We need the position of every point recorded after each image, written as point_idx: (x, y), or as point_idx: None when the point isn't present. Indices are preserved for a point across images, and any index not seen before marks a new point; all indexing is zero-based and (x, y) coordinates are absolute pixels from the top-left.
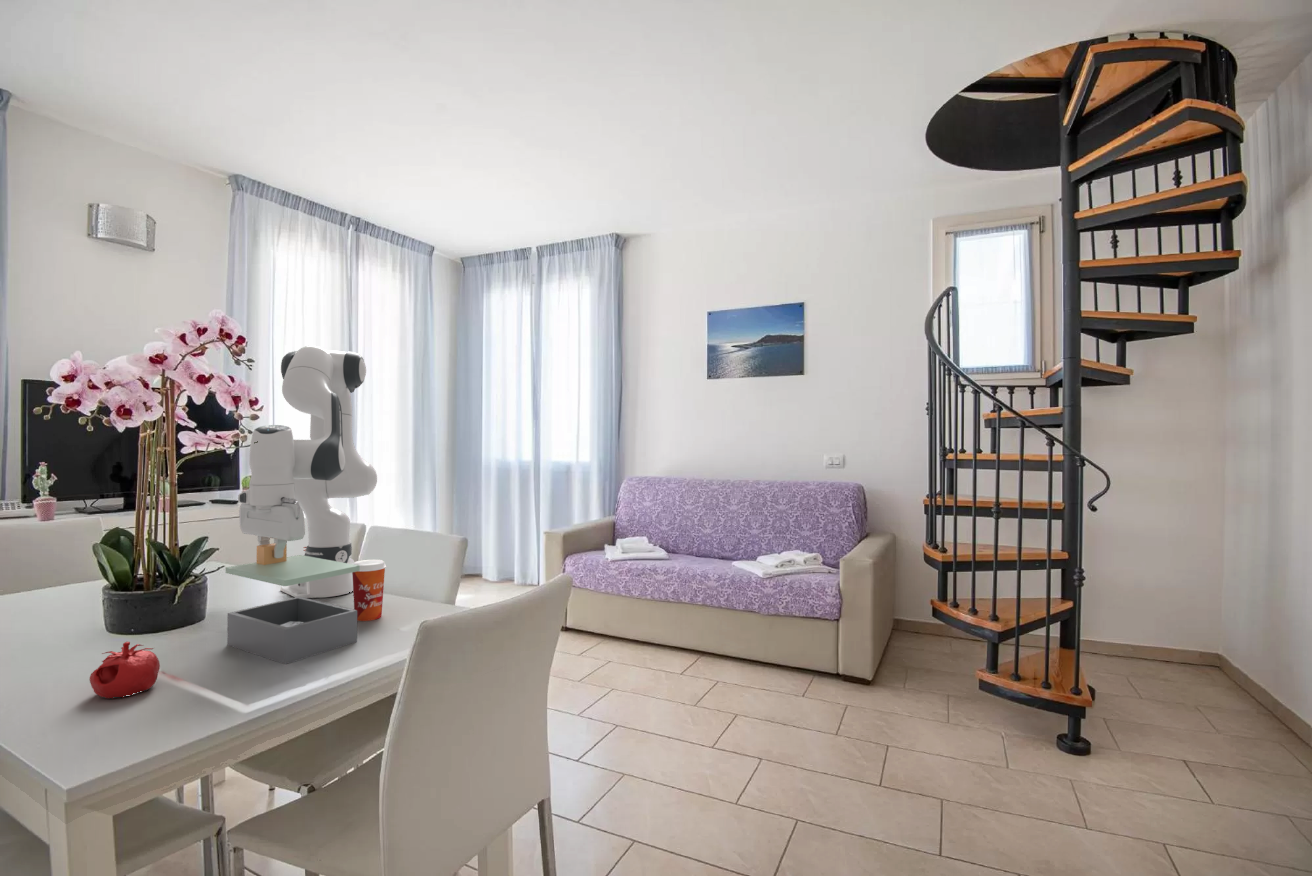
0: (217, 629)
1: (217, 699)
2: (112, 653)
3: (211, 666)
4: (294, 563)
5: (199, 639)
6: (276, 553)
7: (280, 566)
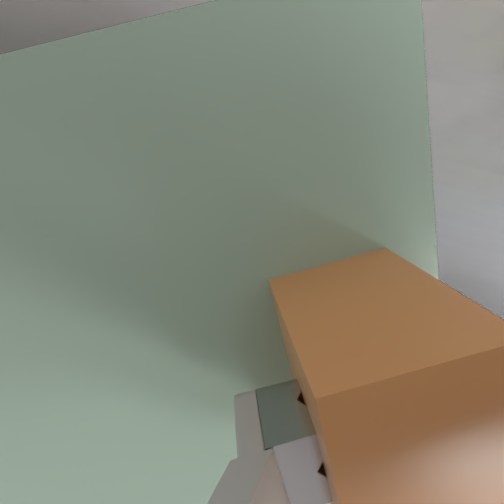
0: (492, 124)
1: None
2: None
3: (123, 12)
4: (164, 455)
5: (434, 55)
6: (238, 435)
7: (101, 364)
